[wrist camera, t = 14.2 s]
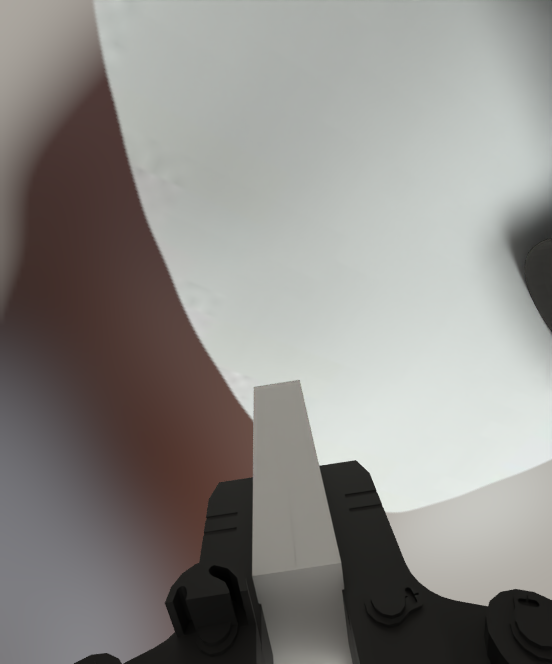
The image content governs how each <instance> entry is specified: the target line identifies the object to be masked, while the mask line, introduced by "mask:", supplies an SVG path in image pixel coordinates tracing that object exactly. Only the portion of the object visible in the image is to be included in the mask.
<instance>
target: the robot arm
mask: <svg viewBox="0 0 552 664" xmlns="http://www.w3.org/2000/svg"><path fill="white" fill-rule="evenodd" d="M253 432H254V433H253V436H254V437H253V438H254V439H253V477H252V478H246V479H239V480H233V481H226V482H220V483H219V484H218V485H217V487H216V489H215V490H214V492H213V493H212V495H211V497H210V498H209V502H208V509H207V516H206V518H207V520H206V523H205V529H204V536H203V542H202V549H201V556H200V562H199V563H198V564H195V565H194V566H193V567H191V568H190V569H188V570H187V571H185V572H184V573H182V575H181V576H180V577H179V578H178V580H177V581H176V582H175V583H174V585H173V586H172V587H171V589H170V592H169V594H168V597H167V599H166V602H165V604H166V607H167V610H168V613H169V615H170V619H171V621H172V624H173V627H174V630H175V633H174V634H173V635H172V636H170V637H169V639H167V640H166V641H164V642H163V643H161V644H160V645H158V646H157V647H155V648H153V649H151V650H149V651H147V652H145V653H143V654H141V655H139V656H137V657H135V658H133V659H131V660H130V661H128V662H126V663H124V664H552V600H550V599H548V598H546V597H544V596H541V595H539V594H537V593H535V592H529V591H524V590H518V589H514V590H509V591H503V592H500V593H499V594H498V595H496V597H494V598H493V599H492V600H490V602H489V606H482V605H477V604H471V603H465V602H460V601H455V600H451V599H447V598H444V597H441V596H439V595H437V594H435V593H433V592H431V591H430V590H428V589H427V588H426V587H424V586H423V585H422V584H420V583H419V582H418V581H417V580H416V579H415V577H414V576H413V575H412V574H411V572H410V571H409V569H408V567H407V565H406V563H405V561H404V558H403V556H402V554H401V551H400V548H399V546H398V543H397V541H396V538H395V536H394V533H393V531H392V529H391V526H390V523H389V521H388V519H387V516H386V513H385V511H384V508H383V507H382V503H381V501H380V498H379V496H378V493H377V492H376V488H375V486H374V483H373V481H372V478H371V476H370V473H369V472H368V471H367V470H366V469H365V468H363V467H362V466H361V465H360V464H359V463H358V462H357V461H356V460H355V461H348V462H342V463H335V464H329V465H322V466H319V463H318V459H317V454H316V450H315V446H314V441H313V437H312V432H311V428H310V424H309V419H308V415H307V411H306V406H305V402H304V397H303V393H302V389H301V384H300V380H296V381H290V382H283V383H277V384H270V385H264V386H257V387H254V431H253ZM74 664H122V663H121V662H120V660H119V659H118V658H116V657H114V656H112V655H110V654H107V653H104V654H95V655H90V656H88V657H86V658H84V659H82V660H80V661H78V662H76V663H74Z"/></svg>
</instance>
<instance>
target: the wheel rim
mask: <svg viewBox="0 0 552 664" xmlns="http://www.w3.org/2000/svg"><path fill="white" fill-rule="evenodd" d="M525 277H526V282H527V286H528V289H529V292H530V295H531V297H532V299H533V301H534V303H535V305H536V307H537V309H538V311H539V313H540V314H541V316H542V318H543V319H544V321H545V322H546V324H547V325H548V327H549V328H550V329H551V331H552V238H550V239H547V240H544V241H542V242H540V243H539V244H537V245H536V246H535V247H533V248H532V249H531V251H530V252H529V253H528V256H527V259H526V262H525Z"/></svg>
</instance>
